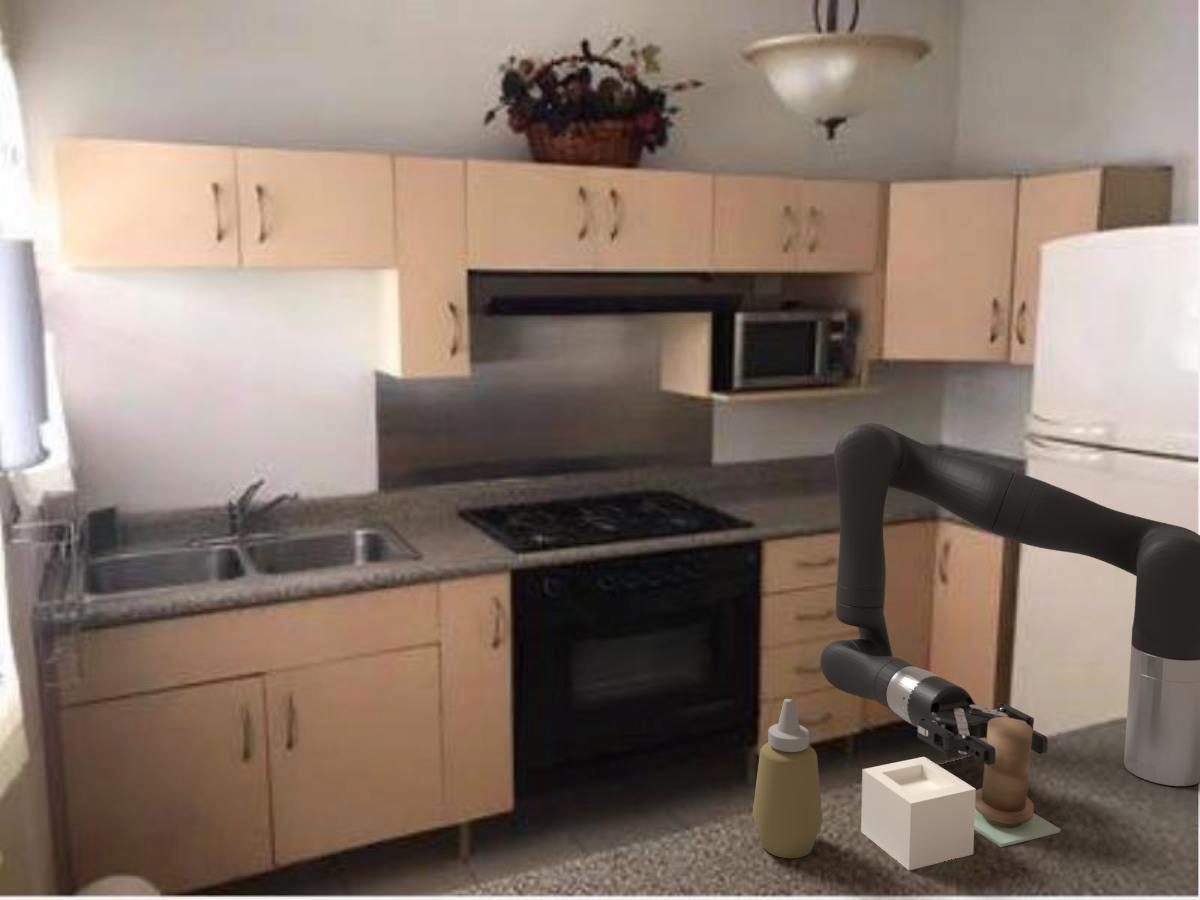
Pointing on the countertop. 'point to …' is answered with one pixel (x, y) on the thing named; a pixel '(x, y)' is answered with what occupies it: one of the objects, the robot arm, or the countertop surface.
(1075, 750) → the countertop surface
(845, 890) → the countertop surface
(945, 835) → the white socket block
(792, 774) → the squeeze bottle
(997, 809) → the flanged wooden peg
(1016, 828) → the mat
